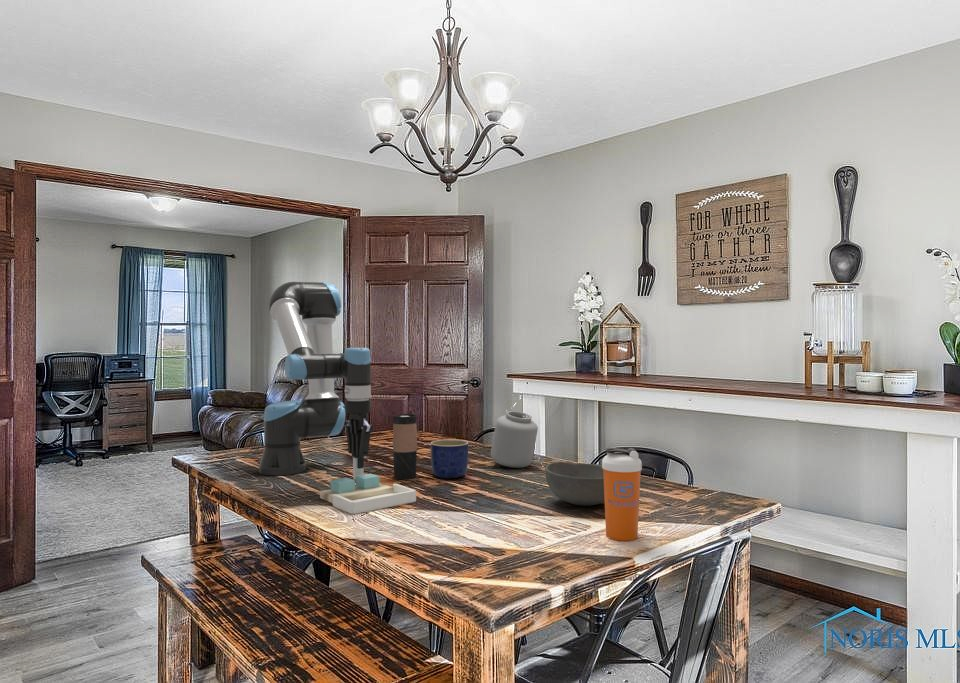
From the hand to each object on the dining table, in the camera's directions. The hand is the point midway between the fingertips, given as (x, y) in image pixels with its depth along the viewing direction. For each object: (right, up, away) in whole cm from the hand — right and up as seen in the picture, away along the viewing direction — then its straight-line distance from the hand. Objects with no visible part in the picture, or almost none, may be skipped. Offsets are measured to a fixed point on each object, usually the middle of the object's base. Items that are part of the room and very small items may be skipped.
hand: (358, 478), depth 190 cm
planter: (+26, -3, +19) cm, 32 cm away
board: (+1, -3, -7) cm, 8 cm away
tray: (+7, -4, -15) cm, 17 cm away
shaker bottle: (+69, -4, -44) cm, 81 cm away
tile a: (+3, -1, -4) cm, 6 cm away
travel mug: (+12, -3, +17) cm, 21 cm away
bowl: (+64, -4, -16) cm, 66 cm away
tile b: (-3, -1, -9) cm, 10 cm away
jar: (+49, -3, +34) cm, 59 cm away
